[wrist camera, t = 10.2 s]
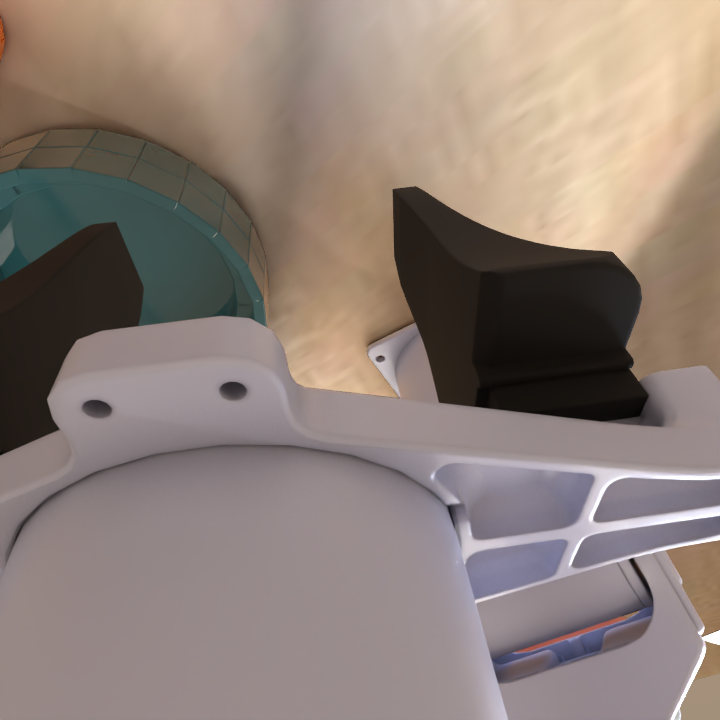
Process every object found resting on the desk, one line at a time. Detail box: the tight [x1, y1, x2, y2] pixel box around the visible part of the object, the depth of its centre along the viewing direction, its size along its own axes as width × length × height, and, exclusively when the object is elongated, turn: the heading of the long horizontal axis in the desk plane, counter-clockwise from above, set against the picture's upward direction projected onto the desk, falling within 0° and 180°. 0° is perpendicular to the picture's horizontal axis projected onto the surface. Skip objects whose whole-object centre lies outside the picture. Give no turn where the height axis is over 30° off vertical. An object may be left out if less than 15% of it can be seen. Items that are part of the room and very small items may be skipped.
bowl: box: [0, 129, 269, 328], centre depth 23 cm, size 13×13×4 cm
